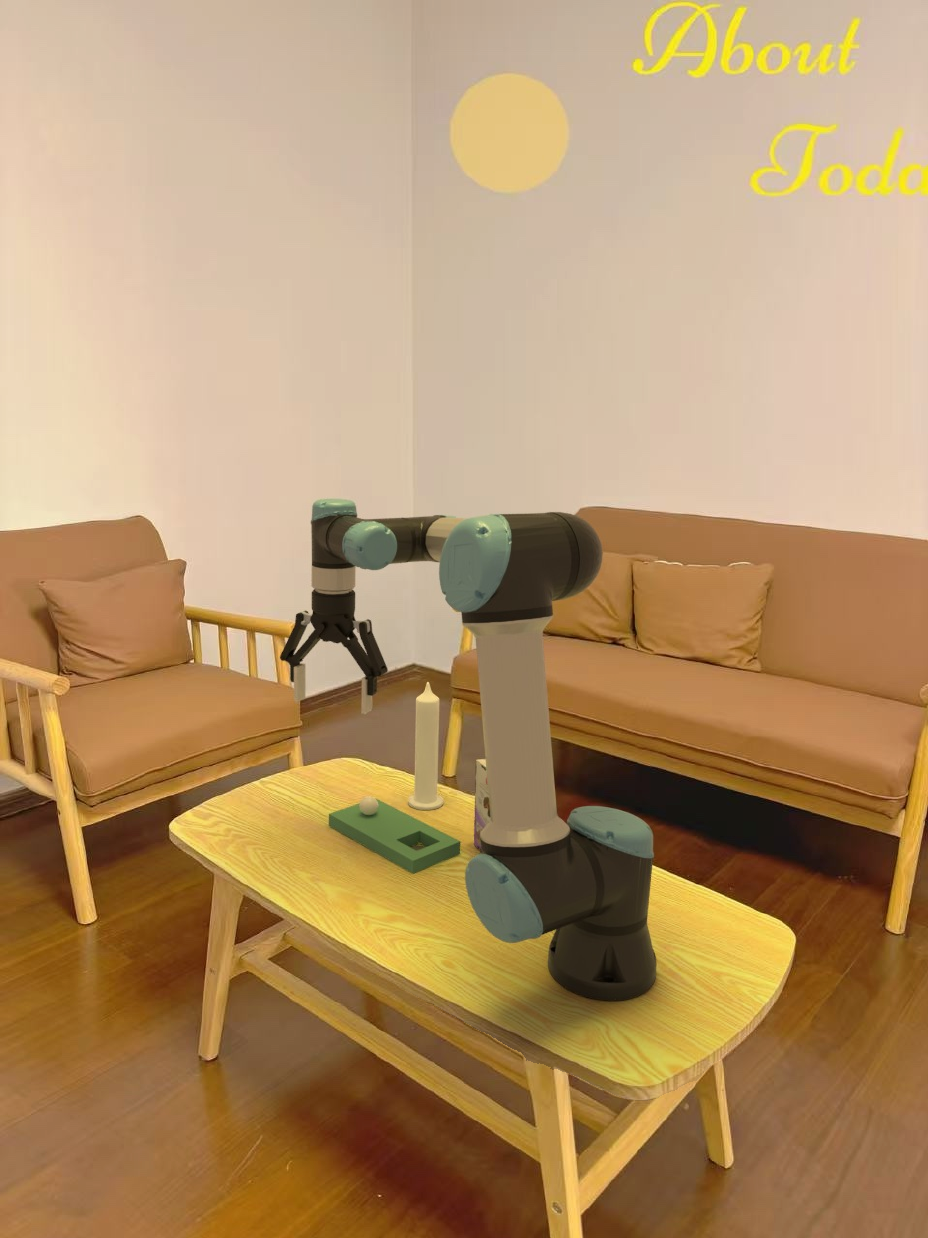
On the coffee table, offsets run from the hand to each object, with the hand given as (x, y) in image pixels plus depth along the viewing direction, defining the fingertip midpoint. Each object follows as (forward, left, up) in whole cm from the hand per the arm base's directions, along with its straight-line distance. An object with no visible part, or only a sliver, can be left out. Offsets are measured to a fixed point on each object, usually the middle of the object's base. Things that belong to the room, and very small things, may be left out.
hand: (332, 705), depth 166 cm
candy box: (-28, -16, -24) cm, 40 cm away
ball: (-3, -6, -20) cm, 21 cm away
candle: (-2, -21, -24) cm, 32 cm away
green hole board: (-10, -6, -24) cm, 27 cm away
